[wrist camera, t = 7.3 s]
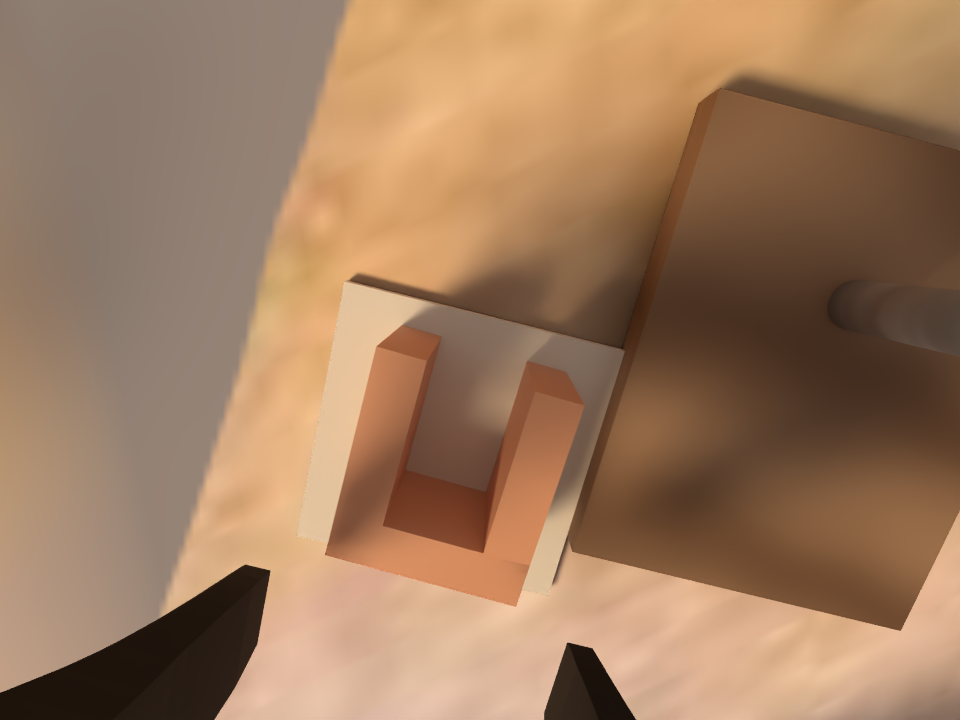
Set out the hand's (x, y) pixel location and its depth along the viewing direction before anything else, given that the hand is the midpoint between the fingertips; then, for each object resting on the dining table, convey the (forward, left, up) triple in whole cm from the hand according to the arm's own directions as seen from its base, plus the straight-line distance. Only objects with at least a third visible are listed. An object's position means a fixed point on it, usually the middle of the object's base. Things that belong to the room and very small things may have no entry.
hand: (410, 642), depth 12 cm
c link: (+3, 0, -6) cm, 6 cm away
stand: (+8, -10, -6) cm, 14 cm away
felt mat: (+3, 0, -6) cm, 7 cm away
